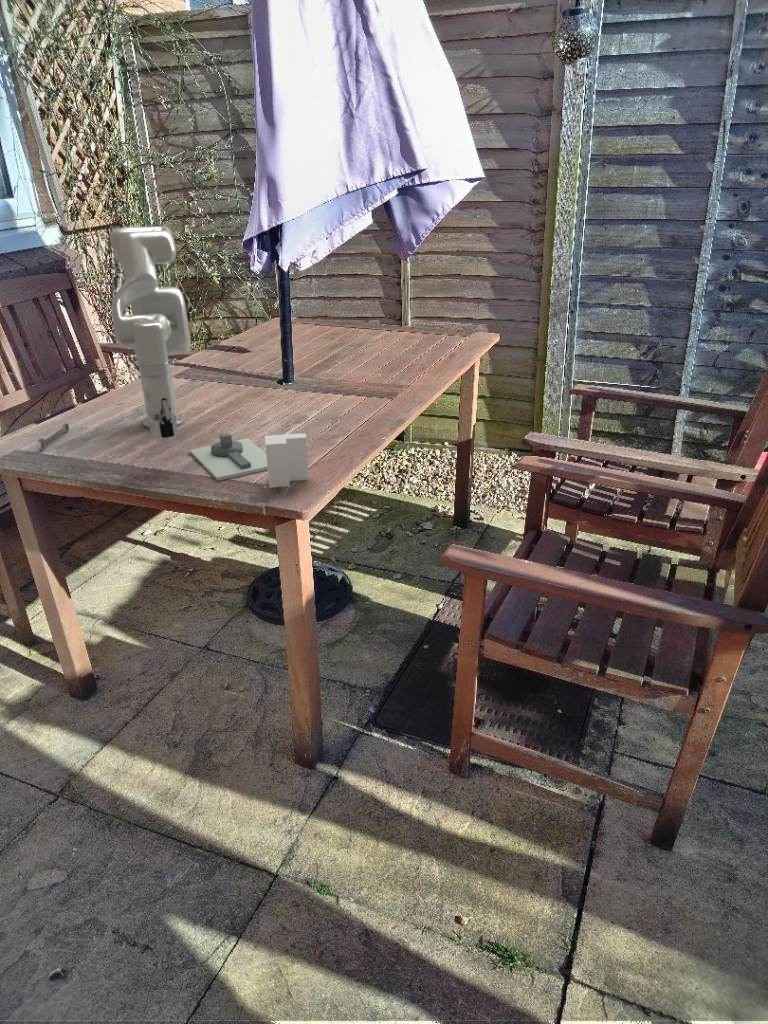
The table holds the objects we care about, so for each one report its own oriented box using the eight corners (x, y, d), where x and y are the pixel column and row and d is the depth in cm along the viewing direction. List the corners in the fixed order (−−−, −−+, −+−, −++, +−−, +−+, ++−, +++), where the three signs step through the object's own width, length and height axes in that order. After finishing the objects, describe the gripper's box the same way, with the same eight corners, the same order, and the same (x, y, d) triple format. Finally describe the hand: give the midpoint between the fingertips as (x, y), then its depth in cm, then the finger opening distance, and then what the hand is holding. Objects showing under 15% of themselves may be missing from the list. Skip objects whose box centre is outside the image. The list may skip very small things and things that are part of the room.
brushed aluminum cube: (151, 434, 196) (147, 414, 193) (172, 430, 198) (169, 410, 195) (157, 441, 191) (153, 420, 188) (179, 437, 194) (176, 416, 191)
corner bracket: (269, 487, 184) (265, 444, 179) (267, 471, 194) (264, 430, 189) (310, 484, 186) (307, 441, 181) (306, 468, 196) (304, 427, 191)
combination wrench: (64, 420, 225) (33, 441, 207) (68, 420, 225) (38, 441, 207) (67, 432, 227) (36, 453, 209) (71, 431, 227) (41, 453, 208)
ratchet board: (190, 453, 207) (187, 433, 204) (247, 441, 215) (245, 422, 213) (217, 481, 189) (215, 459, 186) (279, 467, 197) (278, 446, 194)
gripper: (131, 363, 190) (142, 425, 199) (149, 379, 178) (159, 446, 186) (159, 359, 194) (168, 420, 202) (178, 375, 181) (187, 440, 189)
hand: (164, 432), depth 194 cm, fingers closed on brushed aluminum cube, 6 cm apart
